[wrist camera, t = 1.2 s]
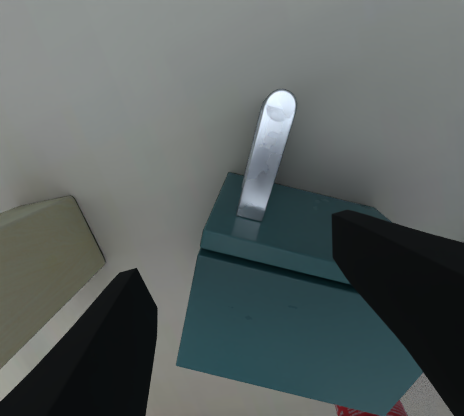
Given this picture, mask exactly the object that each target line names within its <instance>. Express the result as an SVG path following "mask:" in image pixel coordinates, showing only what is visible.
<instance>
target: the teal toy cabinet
mask: <svg viewBox="0 0 464 416" xmlns="http://www.w3.org/2000/svg"><path fill="white" fill-rule="evenodd" d="M176 366H179V367H183V368H187V369H191V370H196V371H200V372H204V373H208V374H212V375H216V376H220V377H224V378H228V379H232V380H237V381H241V382H245V383H249V384H253V385H257V386H261V387H265V388H269V389H273V390H278V391H282V392H286V393H290V394H294V395H298V396H302V397H306V398H310V399H314V400H319V401H323V402H327V403H331V404H335V405H339V406H343V407H347V408H351V409H355V410H360V411H364V412H368V413H372V414H376V415H380V416H386V414H387V413H388V412H389V411H390V410H391V409H392V408H393V406H394V405H395V404H396V403H397V402H398V401H399V399H400V398H401V397H402V396H403V395H404V394H405V393H406V391H407V390H408V389H409V388H410V387H411V386H412V385H413V383H414V382H415V381H416V380H417V379H418V378H419V376H420V375H421V374H422V373H423V371H422V370H421V368H420V367H419V366H418V364H417V363H416V362H415V360H414V359H413V357H412V356H411V355H410V353H409V352H408V351H407V349H406V348H405V347H404V346H403V344H402V343H401V342H400V341H399V339H398V338H397V337H396V336H395V334H394V333H393V332H392V331H391V330H390V329H389V328H388V326H387V325H386V324H385V323H384V322H383V321H382V320H381V318H380V317H379V316H378V315H377V314H376V313H375V312H374V310H373V309H372V308H371V307H370V306H369V305H368V304H367V302H366V301H365V300H364V299H363V298H362V297H361V295H360V294H359V293H358V292H357V291H356V290H355V288H354V287H353V286H352V285H350V284H346V283H342V282H338V281H334V280H330V279H326V278H322V277H318V276H314V275H309V274H305V273H301V272H297V271H293V270H289V269H285V268H281V267H277V266H273V265H268V264H264V263H260V262H256V261H252V260H248V259H244V258H240V257H236V256H232V255H228V254H223V253H219V252H215V251H211V250H207V249H203V248H200V251H199V253H198V256H197V261H196V266H195V271H194V276H193V281H192V286H191V291H190V296H189V302H188V307H187V312H186V317H185V322H184V327H183V332H182V337H181V342H180V347H179V352H178V357H177V362H176Z"/></svg>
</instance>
